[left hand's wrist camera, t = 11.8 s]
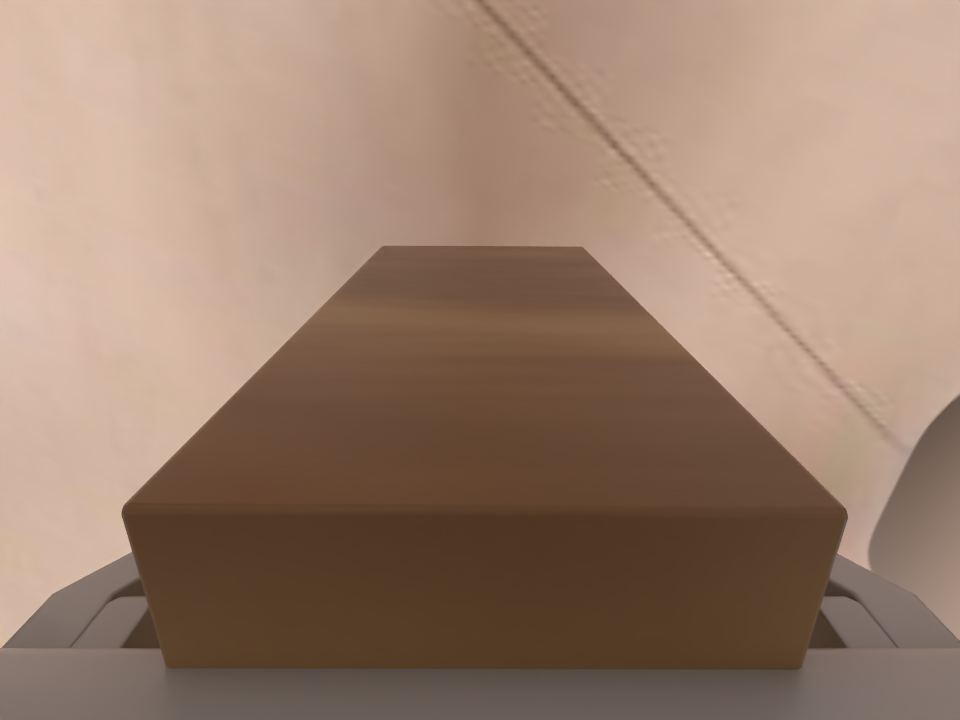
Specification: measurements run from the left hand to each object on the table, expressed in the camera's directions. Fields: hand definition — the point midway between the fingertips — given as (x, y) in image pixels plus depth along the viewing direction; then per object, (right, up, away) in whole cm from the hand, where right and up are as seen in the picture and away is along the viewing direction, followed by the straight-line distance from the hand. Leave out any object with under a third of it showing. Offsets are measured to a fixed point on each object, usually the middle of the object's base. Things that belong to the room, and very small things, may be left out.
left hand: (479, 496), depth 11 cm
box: (0, -6, +11) cm, 12 cm away
